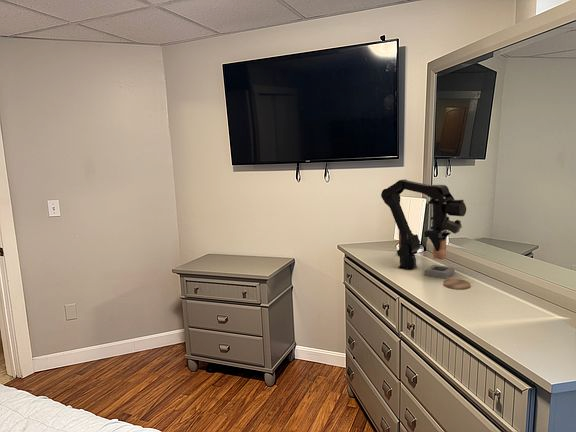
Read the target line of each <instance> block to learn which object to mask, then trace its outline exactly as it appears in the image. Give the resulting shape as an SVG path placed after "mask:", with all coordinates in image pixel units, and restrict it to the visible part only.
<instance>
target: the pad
mask: <svg viewBox="0 0 576 432" xmlns="http://www.w3.org/2000/svg"><path fill="white" fill-rule="evenodd" d="M442 282H443V283H442V285H443V286H444V288H445V287H446V288H447V289H451V290H458V291H459V290H462V291H463V290H469V289H470V288H471V282H470V281H468V280H465V279H460V278H459V279H458V278H447V279H443V281H442Z"/></svg>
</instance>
